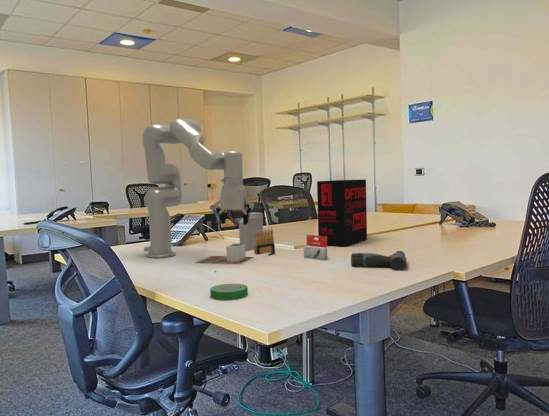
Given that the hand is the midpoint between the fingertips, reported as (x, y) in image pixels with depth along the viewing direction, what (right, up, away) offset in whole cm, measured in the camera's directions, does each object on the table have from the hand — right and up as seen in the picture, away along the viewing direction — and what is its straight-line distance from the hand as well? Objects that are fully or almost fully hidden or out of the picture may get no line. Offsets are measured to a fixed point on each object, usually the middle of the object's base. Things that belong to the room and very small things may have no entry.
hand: (234, 223), depth 185 cm
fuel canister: (+5, -14, +37) cm, 40 cm away
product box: (+52, -12, +48) cm, 71 cm away
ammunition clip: (+12, -15, +17) cm, 26 cm away
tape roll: (+3, -20, -50) cm, 54 cm away
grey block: (+1, -15, +1) cm, 15 cm away
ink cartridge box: (+34, -15, +5) cm, 37 cm away
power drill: (+57, -16, -12) cm, 60 cm away
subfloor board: (-4, -16, +2) cm, 17 cm away
